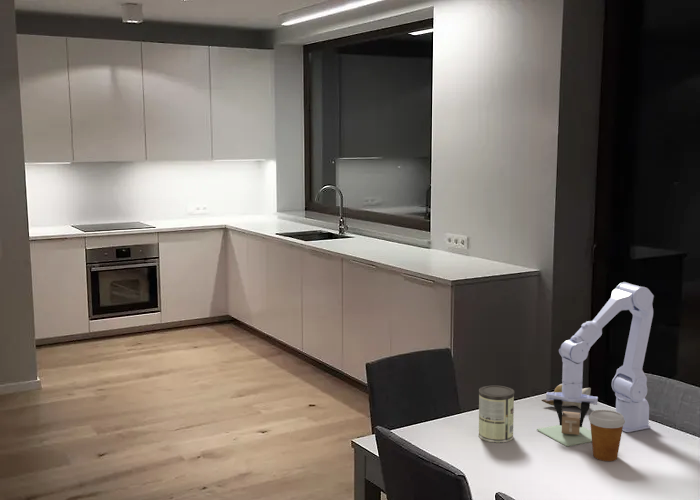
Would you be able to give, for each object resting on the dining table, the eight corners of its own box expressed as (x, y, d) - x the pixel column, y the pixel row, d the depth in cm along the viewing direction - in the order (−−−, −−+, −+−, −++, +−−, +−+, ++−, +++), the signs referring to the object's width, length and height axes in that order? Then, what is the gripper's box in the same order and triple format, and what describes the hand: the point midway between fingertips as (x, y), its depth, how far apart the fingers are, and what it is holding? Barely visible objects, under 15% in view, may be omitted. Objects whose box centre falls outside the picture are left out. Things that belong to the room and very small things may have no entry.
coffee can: (476, 429, 231) (477, 384, 229) (511, 430, 230) (512, 385, 228) (479, 442, 221) (480, 395, 219) (515, 443, 220) (516, 396, 218)
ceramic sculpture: (587, 387, 243) (540, 383, 250) (587, 414, 244) (541, 409, 251) (593, 378, 252) (548, 375, 259) (594, 404, 253) (549, 400, 260)
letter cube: (562, 427, 229) (562, 411, 229) (579, 428, 228) (580, 412, 227) (561, 433, 224) (562, 417, 224) (579, 435, 223) (579, 418, 222)
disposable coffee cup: (616, 466, 204) (618, 423, 202) (582, 458, 209) (583, 416, 208) (628, 455, 211) (630, 413, 210) (594, 447, 217) (595, 406, 215)
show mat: (573, 423, 236) (573, 422, 236) (605, 439, 223) (605, 437, 223) (536, 430, 230) (536, 429, 230) (566, 446, 218) (566, 445, 217)
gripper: (546, 382, 223) (544, 427, 225) (598, 387, 218) (596, 432, 220) (547, 375, 229) (546, 419, 231) (598, 380, 225) (596, 424, 227)
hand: (570, 425), depth 226 cm, fingers closed on letter cube, 5 cm apart
